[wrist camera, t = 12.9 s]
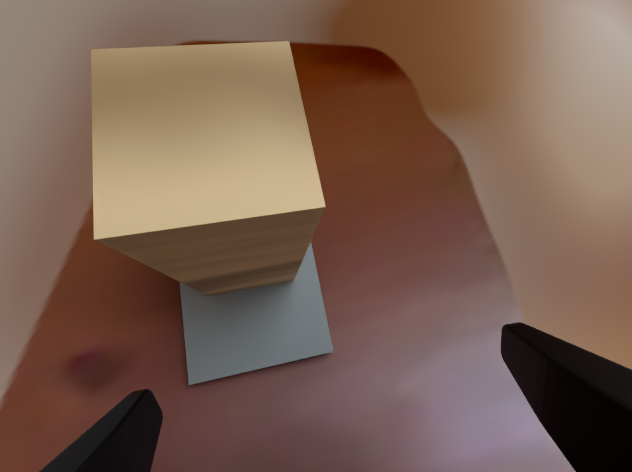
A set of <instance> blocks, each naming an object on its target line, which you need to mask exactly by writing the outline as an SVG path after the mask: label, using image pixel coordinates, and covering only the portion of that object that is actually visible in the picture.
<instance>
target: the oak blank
mask: <svg viewBox="0 0 632 472" xmlns="http://www.w3.org/2000/svg"><path fill="white" fill-rule="evenodd" d="M91 72H92V137H93V138H92V139H93V140H92V141H93V208H94V240H96V241H98V242H100V243H102V244H104V245H106V246H108V247H110V248H112V249H114V250H116V251H118V252H120V253H122V254H124V255H126V256H128V257H130V258H132V259H134V260H136V261H138V262H140V263H142V264H144V265H147V266H149V267H151V268H153V269H155V270H157V271H159V272H161V273H163V274H165V275H167V276H169V277H171V278H173V279H175V280H177V281H179V282H181V283H183V284H185V285H187V286H189V287H191V288H193V289H195V290H197V291H199V292H201V293H204V294H206V295H208V296H212V295H217V294H223V293H228V292H234V291H239V290H245V289H250V288H256V287H261V286H267V285H272V284H278V283H283V282H289V281H294V279H295V277H296V275H297V272H298V270H299V268H300V265H301V263H302V261H303V258H304V256H305V254H306V251H307V249H308V247H309V244H310V242H311V240H312V237H313V235H314V233H315V230H316V228H317V226H318V223H319V221H320V219H321V216H322V214H323V212H324V209H325V202H324V198H323V193H322V189H321V184H320V180H319V175H318V170H317V166H316V161H315V157H314V152H313V148H312V143H311V139H310V134H309V130H308V125H307V121H306V116H305V112H304V107H303V103H302V98H301V94H300V89H299V85H298V80H297V76H296V71H295V67H294V62H293V57H292V53H291V48H290V44H289V41H281V42H257V43H233V44H210V45H186V46H162V47H140V48H139V47H138V48H115V49H92V50H91Z"/></svg>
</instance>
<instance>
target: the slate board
mask: <svg viewBox="0 0 632 472" xmlns="http://www.w3.org/2000/svg"><path fill="white" fill-rule="evenodd" d="M180 292H181V304H182V315H183V326H184V337H185V348H186V359H187V371H188V382H189V385H192V384H196V383H201V382H205V381H209V380H214V379H218V378H222V377H226V376H231V375H235V374H239V373H244V372H248V371H252V370H256V369H261V368H265V367H269V366H274V365H278V364H282V363H286V362H291V361H295V360H299V359H304V358H308V357H312V356H317V355H321V354H325V353H329V352H333V347H332V342H331V337H330V332H329V327H328V323H327V318H326V313H325V308H324V303H323V298H322V293H321V289H320V284H319V279H318V274H317V269H316V264H315V259H314V255H313V250H312V245H311V242H310V244H309V247H308V249H307V251H306V254H305V256H304V258H303V261H302V263H301V265H300V268H299V270H298V272H297V275H296V277H295V279H294V281H289V282H283V283H278V284H272V285H267V286H261V287H256V288H250V289H245V290H239V291H234V292H228V293H223V294H217V295H212V296H208V295H206V294H204V293H201V292H199V291H197V290H195V289H193V288H191V287H189V286H187V285H185V284H183V283H181V282H180Z"/></svg>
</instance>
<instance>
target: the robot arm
mask: <svg viewBox="0 0 632 472" xmlns="http://www.w3.org/2000/svg"><path fill="white" fill-rule="evenodd" d="M501 355H502V358H503V360H504V362H505V364H506V365H507V367H508V369H509V370H510V372H511V374H512V375H513V377H514V379H515V381H516V382H517V384H518V386H519V387H520V389H521V391H522V392H523V394H524V396H525V397H526V399H527V401H528V403H529V404H530V406H531V408H532V409H533V411H534V413H535V414H536V416H537V417H538V419H539V421H540V422H541V424H542V425H543V427H544V428H545V429H546V431H547V432H548V434H549V435H550V436H551V438H552V439H553V441H554V442H555V443H556V445H557V446H558V448H559V449H560V450H561V452H562V453H563V455H564V456H565V457H566V459H567V460H568V461H569V463H570V464H571V466H572V467H573V468H574V470H575V471H576V472H632V370H631V369H629V368H627V367H624V366H622V365H620V364H617V363H615V362H613V361H610V360H608V359H605V358H603V357H601V356H598V355H596V354H594V353H592V352H589V351H587V350H585V349H582V348H580V347H578V346H575V345H573V344H570V343H568V342H566V341H563V340H561V339H559V338H556V337H554V336H552V335H549V334H547V333H545V332H542V331H540V330H538V329H536V328H533V327H531V326H529V325H526V324H524V323H520V322H517V323H512V324H506V325H504V326H503V328H502V335H501ZM162 420H163V414H162V410H161V408H160V406H159V404H158V402H157V400H156V398H155V396H154V394H153V392H152V391H151V390H149V389H144V390H139V391H134V392H132V393H130V394H129V395H128V396H127V397H126V398H124V399H123V400H122V401H121V402H120V403H119V404H117V405H116V406H115V407H114V408H113V409H112V410H110V411H109V412H108V413H107V414H106V415H105V416H103V417H102V418H101V419H100V420H99V421H98V422H96V423H95V424H94V425H93V426H92V427H91V428H89V429H88V430H87V431H86V432H85V433H84V434H83V435H81V436H80V437H79V438H78V439H77V440H76V441H74V442H73V443H72V444H71V445H70V446H69V447H67V448H66V449H65V450H64V451H63V452H62V453H60V454H59V455H58V456H57V457H56V458H55V459H53V460H52V461H51V462H50V463H49V464H48V465H46V466H45V467H44V468H43V469H42V470H41V471H39V472H150V470H151V466H152V462H153V458H154V454H155V450H156V446H157V442H158V437H159V433H160V429H161V425H162Z"/></svg>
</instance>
